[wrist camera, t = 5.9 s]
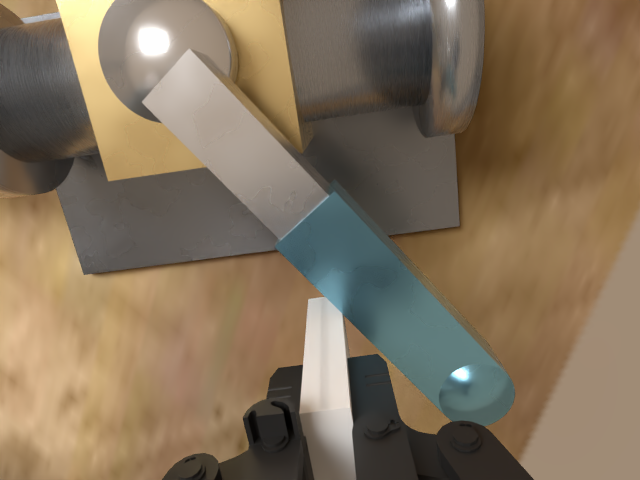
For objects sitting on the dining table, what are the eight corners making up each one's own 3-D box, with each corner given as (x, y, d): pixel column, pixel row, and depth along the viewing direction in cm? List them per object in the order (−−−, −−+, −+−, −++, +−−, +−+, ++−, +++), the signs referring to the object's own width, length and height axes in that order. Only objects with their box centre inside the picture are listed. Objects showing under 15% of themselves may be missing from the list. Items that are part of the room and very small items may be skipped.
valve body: (88, 271, 29) (-25, 348, 20) (9, 23, 25) (-181, -23, 16) (457, 223, 27) (518, 284, 18) (441, -52, 23) (511, -155, 14)
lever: (432, 393, 20) (452, 451, 17) (94, 57, 16) (31, 45, 13) (512, 335, 19) (550, 385, 16) (172, -37, 15) (126, -77, 12)
